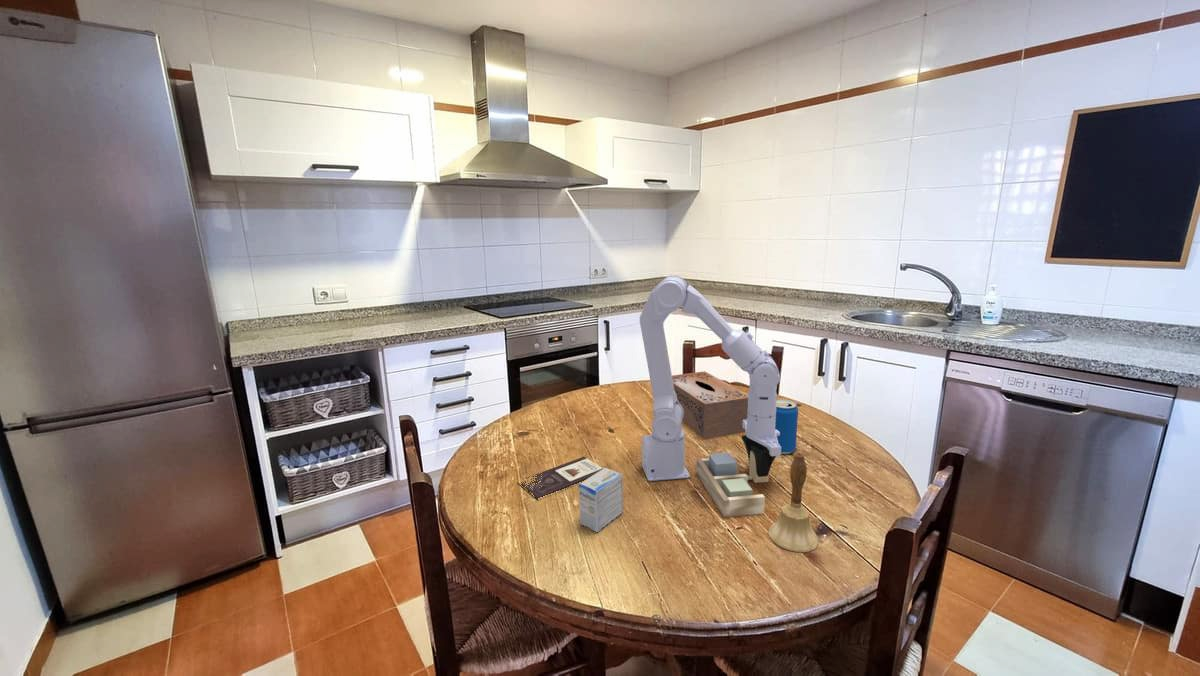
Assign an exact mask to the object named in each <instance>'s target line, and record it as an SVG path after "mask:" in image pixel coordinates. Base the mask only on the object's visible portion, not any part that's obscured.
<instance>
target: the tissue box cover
mask: <svg viewBox="0 0 1200 676" xmlns="http://www.w3.org/2000/svg"><path fill="white" fill-rule="evenodd" d="M672 379H673V385H674V390H675V392H676V395H677V399H678V402H679V404H680V405H681V406H682V408H683V410H684V417H683V419H682V421H683V422H684V423H683V422H682V423H683V424H685V425H686V426H687V427H688V426H689V427H688V428H689V429H691V430H692V429H693V430H694V431H693V430H692V431H693V432H695V433H696V434H697V435H698V434H699V437H701V439H703V438H704V439H703V440H708V439H713V438H714V437H715V438H719V437H720V436H721V437H727V436H732V435H738V434H743V433H745V429H744V428H743V420H747V412H748V393H747V392H745V391H743V390H741V389H739V388H737V387H735V386H733V385H731V384H730V383H728V382H726V381H724V380H722V379H721V378H719V377H716V376H715V375H712V374H710V373H709V372H707V371H705V370H704V371H697V372H690V373H689V372H688V373H683V374H680V373H679V374H672Z"/></svg>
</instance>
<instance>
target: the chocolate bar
mask: <svg viewBox="0 0 1200 676" xmlns="http://www.w3.org/2000/svg"><path fill="white" fill-rule="evenodd" d="M602 469H604V467H601V466H600V465H598V464H597V463H595V461H594V462H593V461H592V460H590V459H588V458H587V457H585V456H581V457H579V458H576V459H574V460H571V461H569V462H566V463H563V464H561V465H558V466H555V467H553V468H550V469H547V470H544V471H541V472H542V473H541V472H538V473H536V474H534V475H537V476H535V477H537V478H535V480H536V481H534V480H533V481H534V482H532V481H531V482H532V483H531V482H530V484H529V483H528V484H529V485H527V484H526V485H527V486H528V487H527V486H526V485H525V483H526V481H525V483H524V482H523V483H524V484H523V483H522V482H521V483H522V484H521V485H522V486H523V487H525V486H526V487H525V488H526V489H527V490H528V491H529V492H531V493H533V495H534V496H535V497H536V498H537V499H538V498H540V497H543V496H545V495H548V494H551V493H554V492H556V491H559V490H562V489H564V488H567V487H569V486H571V485H574V484H577V483H579V482H582V481H584V480H586V479H588V478H590V477H591V476H593V475H594V474H596V473H597V472H599V471H601V470H602ZM539 473H540V474H539ZM541 474H542V475H541ZM532 476H533V475H532ZM541 476H542V477H541ZM529 477H530V476H528V478H529ZM533 477H534V476H533ZM525 478H526V479H527V477H525ZM541 478H542V479H541ZM533 479H534V478H533ZM539 479H540V480H539ZM531 480H532V479H531ZM537 480H538V481H537ZM539 481H541V482H539ZM538 482H539V483H538ZM533 483H535V485H534V484H533ZM536 483H537V484H536ZM532 484H533V485H534V486H532ZM530 485H531V486H532V487H533V488H532V487H531V486H530ZM540 485H541V486H542V487H541V486H540ZM577 485H578V484H577ZM523 487H522V488H523ZM530 487H531V488H532V489H533V490H532V489H531V488H530ZM539 487H540V488H539ZM567 489H568V488H567ZM562 491H563V490H562ZM537 499H536V500H537Z"/></svg>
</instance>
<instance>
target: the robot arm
mask: <svg viewBox="0 0 1200 676" xmlns="http://www.w3.org/2000/svg"><path fill="white" fill-rule="evenodd" d="M679 308H681V313H685V314H691V315H695V316H696V317H697V318H698V319H699V320H700V321H701V322H702V323H704V324H705V326H707V327H708V328H709V329H710V330H711V331H712V332H713V333H714V334H715V335H716V336H717V337H718V338H719V339H720V340H721V349H722V350H723V352H725V354H726V355H727V356H728V357H729V358H730V359H731V360H732V361H733V362H734V363H735V364H736V365H737V367H739V368H740V369H741V370H742V371H744V372H746V373H747V374H748V377H749V390H748V391H747V392H748V393H747V394H748V412H747V420H743V428H744V429H745V432H744V433H745V435H744V434H743V435H741V436H740V437H741V441H742V442H743V444H744V446H745V449H746V453H747V457H748V458H747V459H748V463H749V465H750V451H753V453H754V456H755V461H756V471H757V475H758V477H764V476H768V474H769V473H770V470H771V468H772V465H773V463H774V461H775V459H776V457H778V456H781V455H782V454H781V446H780V445H779V443H778V440H777V436H780V432H779V431H778V430H776V429H775V422H776V403H777V400H778V393H777V388H778V385H779V382H780V381H781V375H780V370H779V368H778V366H777V364H776V362H775V360H774V359H773V357H772V356H771V355H769V353H768V351H767V350H763V349H762V348H760V346H759V345H758V344H757V343H756V342H755V341H754V340H753V338H754V335H753V334H751V332H750V331H748V332H745V331H744V330H742V329H734V328H732V326H731V325H729V323H728V322H727V321H726V320H725V319H724V317H722V316H721V314H720V313H719V312H718V311H717V310H716V309H715V308H714V306H713V305H711V304H710V302H709V301H708V300H707V299H706V298H705V297H704V295H703V294H701V293H700V292H699V291H698V290H697V289H695V287H693V286H692V285H691V284H687V282H686V280H685V279H684V278H683V277H681V276H679V275H676V274H675V275H674V274H673V275H668V276H666V277H664V278H663V279H662V280H661V281H660V282H659V283H658V284H657V285H656V286H655V287H654V288H653V289H652V291H650V293H649V296H648V298H647V300H646V302H645V304H644V307H643V309H642V311H641V313H640V315H639V325H640V331H641V337H642V342H643V347H644V353H645V357H646V358H645V359H646V365H647V369H648V375H649V379H650V380H649V381H650V386H651V387H650V388H651V391H652V397H653V398H652V399H653V401H652V404H653V406H652V409H653V420H652V422H651V423H652V424H651V430H652V431H651V433H650V434H647V435H643V436H642V438H641V467H642V469H643V471H644V474H645V476H646V477H645V478H647V481H649V482H657V481H666V480H677V479H678V480H679V479H688V478H690V477H691V475H690V473H689V471H688V469H687V468H686V466H685V439H686V438H685V437H686V435H685V434H686V433H685V431H684V429H683V428H682V426H683V425H682V424H683V422H682V419H683V417H684V410H683V408H682V406H681V405H680V404H679V402H678V399H677V395H676V392H675V390H674V385H673V379H672V375H673V374H672V367H671V363H670V356H669V352H668V345H667V339H666V333H665V328H664V322H665V321H666V319H667V318H668V317H669V315H670V314H671V313H673V312H675V311H676V310H678V309H679Z"/></svg>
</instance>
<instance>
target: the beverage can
mask: <svg viewBox="0 0 1200 676" xmlns="http://www.w3.org/2000/svg"><path fill="white" fill-rule="evenodd" d="M798 418H799V408H798V407H797V403H796V402H794V401H792V400H788V399H777V403H776V422H775V429H776V430H778V431H779V432H780V436H777V440H778V443H779V445H780V446H781V455H787V454H788V455H790V454H791V453H793V452H795V451H796V449H797V434H798Z"/></svg>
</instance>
